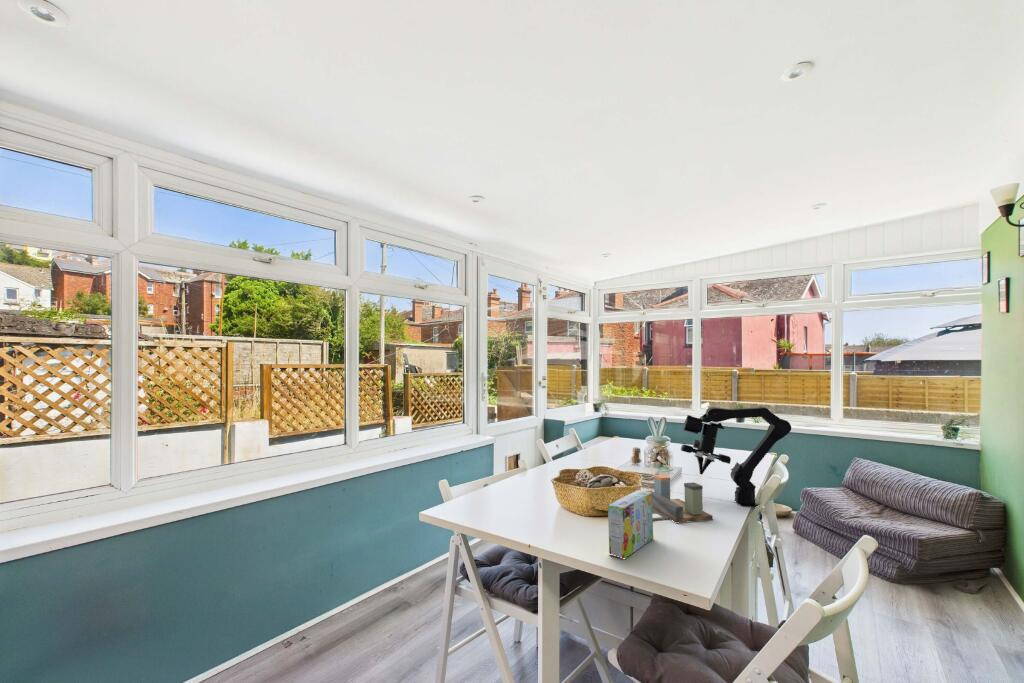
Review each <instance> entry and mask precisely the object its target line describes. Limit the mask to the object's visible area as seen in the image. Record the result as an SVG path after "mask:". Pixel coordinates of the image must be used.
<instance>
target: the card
mask: <svg viewBox="0 0 1024 683" xmlns="http://www.w3.org/2000/svg"><path fill="white" fill-rule="evenodd" d="M652 516H653V520H656V521H663V520H662V519H668V520H670V518H668V517H667V516H665V515H663V514H661V513H660V512H658V511H656V510H655V509H653V508H652Z"/></svg>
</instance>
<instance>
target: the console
mask: <svg viewBox="0 0 1024 683" xmlns="http://www.w3.org/2000/svg"><path fill="white" fill-rule="evenodd" d="M646 491H647V492H651V493H652V508H653V509H655V510H656V511H658V512H660V513H661V514H663V515H665V516H667V517H668V518H670V519H671V520H670V519H669V520H670V521H672V520H673V521H674V522H673V521H672V522H673V523H675V522H682V523H688V522H687V521H693V522H700V521H699V520H705V521H712V520H714V519H713V518H714V516H713V515H712V514H710V513H709V512H706V511H705V510H703V514H698V515H692V514H690V513H688V512H687V511H685V500H684V501H683V500H681V499H680V498H670V500H669V499H667V498H665V497H663V496H661V495H659V494H657V493H655V492H654V491H653V490H646Z"/></svg>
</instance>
